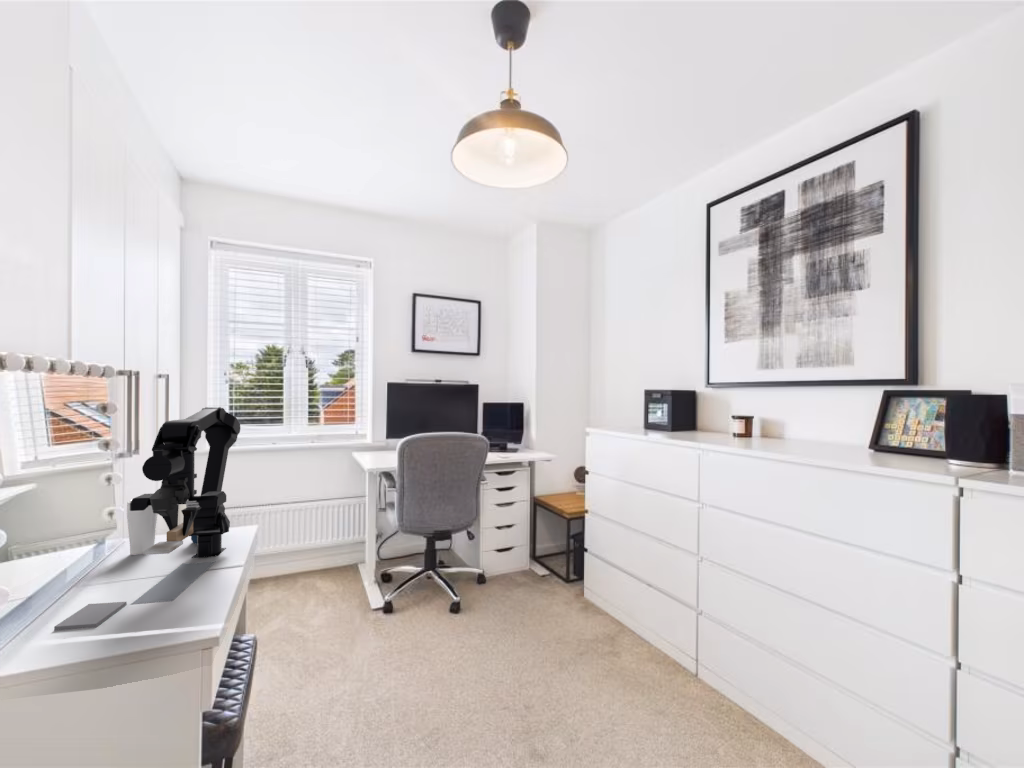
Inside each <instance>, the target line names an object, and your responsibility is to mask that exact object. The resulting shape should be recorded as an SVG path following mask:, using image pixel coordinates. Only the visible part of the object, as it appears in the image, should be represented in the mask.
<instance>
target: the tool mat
mask: <svg viewBox="0 0 1024 768" xmlns="http://www.w3.org/2000/svg"><path fill="white" fill-rule="evenodd" d="M215 563H217V561H204V562H201V561H199V562H190V563H189V562H186V563H184V562H183V563H182V564H180V565H179V566H177V567H176V568H175V569H174V570H173V571H171V572H169V574H167V575H166V576H164V578H162V579H161V580H160V581H159V582H157V583H156V584H154V585H153V586H152V587H151V588H149V589H148V590H147V591H146V592H144V593H143V594H142V595H141V596H139V597H138V598H137V599H136V600H134V601H133V602H132V603H131V605H140V604H152V603H164V602H165V603H166V602H173V601H175V600H176V599H177V598H178V597H179V596H180V595H181V594H183V592H184V591H186V589H188V587H190V586H191V585H192V584H193V583H194V582H195V581H197V579H199V578H200V577H201V576H202V575H203V574H204V573H205V572H206V571H207V570H209V569H210V568H212V566H213V565H215Z"/></svg>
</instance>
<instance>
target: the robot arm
mask: <svg viewBox="0 0 1024 768" xmlns="http://www.w3.org/2000/svg"><path fill="white" fill-rule="evenodd" d="M202 432H204V433H205V434H204V435H205V436H204V437H205V440H206V441H207V444H208V446H209V449H208V450H209V451H208V455H207V459H206V460H207V461H206V464H205V465H206V466H205V471H204V475H203V481H202V487H201V492H200V495H197V492H198V491H197V490H198V489H195V479H197V478H198V474H197V473H195V452H197V450H198V448H197V444H198V442H199V440H200V439H201V438H202ZM240 432H241V424H240V422H239V420H238V419H237V417H236V416H235V415H233V414H231V413H229V412H227V411H226V409H225V408H224V407H221V406H205V407H202V408H201V410H199V411H197V412H195V413H194V414H192V415H190V416H188V417H185V419H184V418H183V419H174V420H168V421H164V422H163V423H162V425H161V426H160V428H159V430H158V433H157V435H156V437H155V440H154V443H153V445H152V448H151V451H152V456H149V457H148V458H147V459H146V460H145V461H144V463H143V465H142V469H141V470H142V474H143V475H144V477H146V479H148V480H150V481H152V482H160V481H161V485H160V488H158V489H157V490H155V492H154V493H143V494H141V495H139V496H136V497H134V498H132V499H130V500H131V502H130V511H142V510H145V509H146V508H147V507H148V506H150V505H151V506H152V510H153V513H157V514H158V515H159V516H160V517H162V519H163V520H164V522H165V523H166V526H167V528H168V531H170V530H171V529H173V528H175V527H176V526H178V525H179V509H180V508H179V506H180V505H185V506H186V507H185V508H183V509H181V513H182V516H183V519H182V521H183V522H182V523H183V536H186V535H187V533H188V531H189V529H190V527H191V525H192V523H193V534H191V535H190V536H189V537H191V536H197V544H196V553H194V555H193V556H191V559H197V558H198V559H201V558H202V559H203V558H215V557H218V556H219V555H221V554H222V553H223V552H224V551H225V550H226V549H227V547H222V539H223V538H222V537H223V535H224V534H226V533H229V532H230V527H231V526H230V525H231V521H230V519H229V517H228V516H227V514H226V508H225V505H224V504H225V503H226V502H227V494H226V492H225V491H224V490H223V489H222V488H223V484H224V483H223V482H224V478H225V472H226V467H227V461H228V455H229V454H228V453H229V450H230V449H231V447H232V446H233V445H234V444H235V443H236V442H237V441H238V435H239V434H240Z"/></svg>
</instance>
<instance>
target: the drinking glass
mask: <svg viewBox="0 0 1024 768" xmlns="http://www.w3.org/2000/svg"><path fill="white" fill-rule="evenodd" d="M131 500H132V499H130V500H128V501H127V504H126V520H127V522H126V523H127V530H128V539H129V553H130V555H131V556H135V555H144V551H145V550H147V549H149V548H150V547H152V546H153V545H155V543H156V542H155V541H156V534H157V533H156V531H157V523H158V522H157V521H158V515H159V514H157V513H153V510H152V506H151V505H150V506H148V507H147V508H146V509H145V510H142V511H130V502H131Z"/></svg>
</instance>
